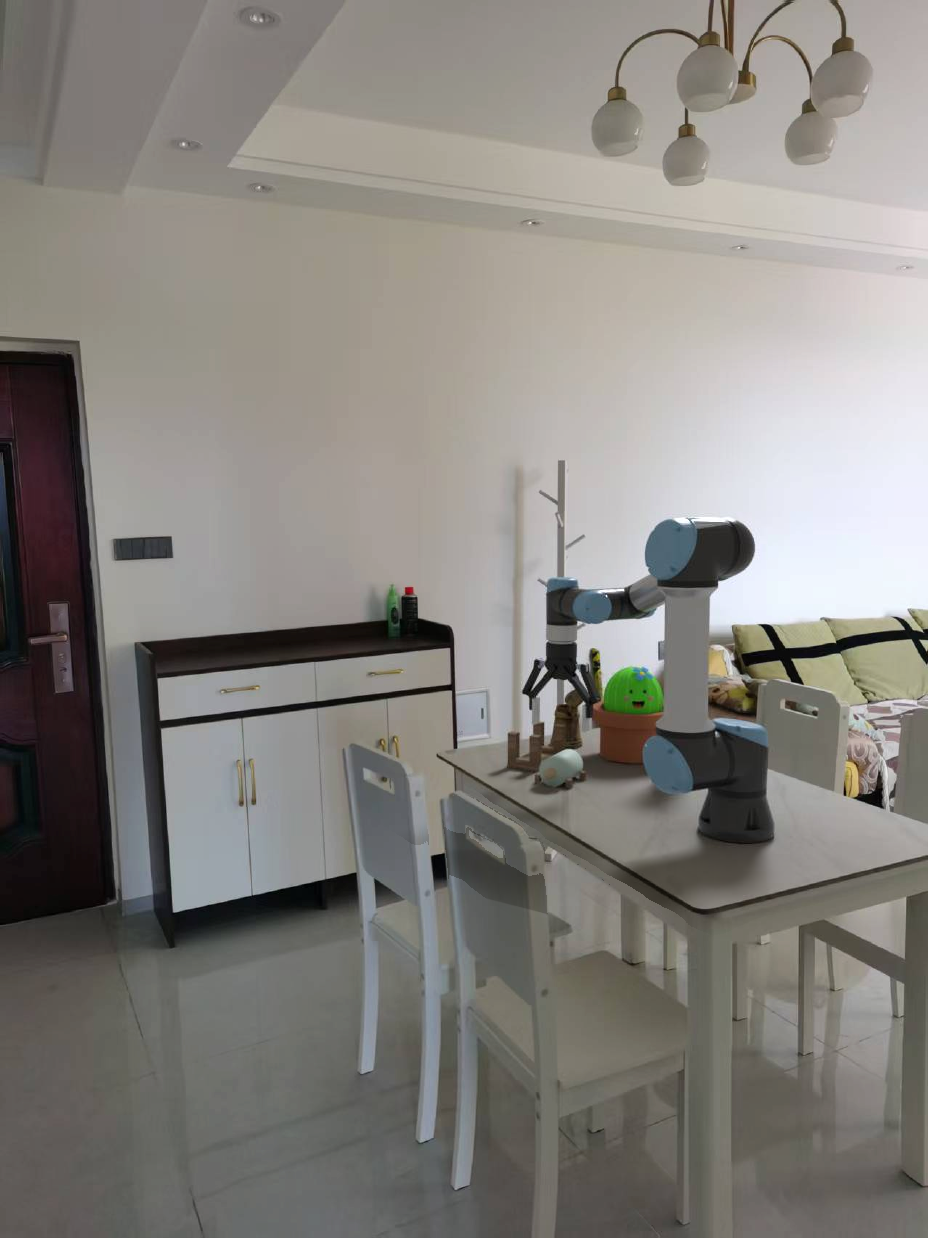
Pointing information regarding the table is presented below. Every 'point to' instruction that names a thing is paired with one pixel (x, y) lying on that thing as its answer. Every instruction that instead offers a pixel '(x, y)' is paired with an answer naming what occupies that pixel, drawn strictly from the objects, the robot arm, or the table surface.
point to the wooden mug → (569, 719)
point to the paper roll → (560, 767)
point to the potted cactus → (628, 714)
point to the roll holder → (535, 747)
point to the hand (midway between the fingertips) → (560, 727)
